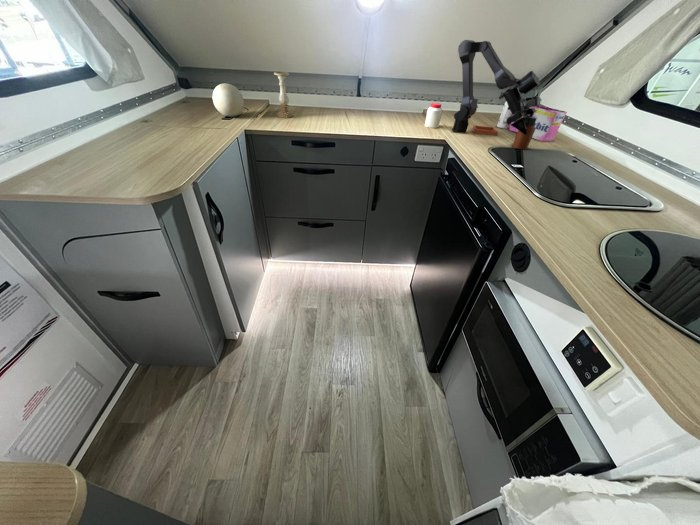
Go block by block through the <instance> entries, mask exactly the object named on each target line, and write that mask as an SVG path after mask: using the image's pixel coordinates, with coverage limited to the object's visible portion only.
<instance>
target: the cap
mask: <svg viewBox="0 0 700 525" xmlns="http://www.w3.org/2000/svg"><path fill="white" fill-rule="evenodd" d="M536 119H537V118H536V117H530V116H528V117H527V118H526V121H525V125H527V126H534V124H535V122H536Z"/></svg>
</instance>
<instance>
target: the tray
mask: <svg viewBox="0 0 700 525" xmlns="http://www.w3.org/2000/svg"><path fill="white" fill-rule="evenodd" d="M471 130H472V132H473V133H474V134H477V135H487V136H488V135H489V136H497V135H498V130H497V129H496V128H495V127H494V126H484V125H475V124H474V125H472V127H471Z"/></svg>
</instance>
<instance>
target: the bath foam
mask: <svg viewBox="0 0 700 525" xmlns="http://www.w3.org/2000/svg"><path fill="white" fill-rule="evenodd" d="M508 107H509V106H508V104H507V102H506V101H505V102H504V105H503V108H502V110H501V113H500V116H499V119H498V122H497V124H496V127H497V128H498V129H503V130H509V129H510V126H511V124H512V123H511V124H509V125H508V124H507V118H508V117H510V116H511V115H512V113H511V111H510V110H508Z"/></svg>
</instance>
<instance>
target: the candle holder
mask: <svg viewBox="0 0 700 525" xmlns="http://www.w3.org/2000/svg"><path fill="white" fill-rule="evenodd" d="M273 75H274V76H277V79H278V81H279V82H278V85H279V95H278V103H279V107H280V110H279V111H278V113H276V117H277V118H282V119H289V118H293V117H294V114H293V113H292V112H291V111H290V110H289V109H288V108H289V105H288V104H289V102H290V100H289V96H288V94H287V90H286V86H287V83H286V79H287V76H290V73H289V72H287V71H274V72H273Z"/></svg>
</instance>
